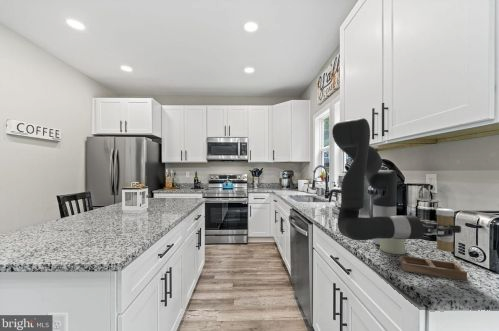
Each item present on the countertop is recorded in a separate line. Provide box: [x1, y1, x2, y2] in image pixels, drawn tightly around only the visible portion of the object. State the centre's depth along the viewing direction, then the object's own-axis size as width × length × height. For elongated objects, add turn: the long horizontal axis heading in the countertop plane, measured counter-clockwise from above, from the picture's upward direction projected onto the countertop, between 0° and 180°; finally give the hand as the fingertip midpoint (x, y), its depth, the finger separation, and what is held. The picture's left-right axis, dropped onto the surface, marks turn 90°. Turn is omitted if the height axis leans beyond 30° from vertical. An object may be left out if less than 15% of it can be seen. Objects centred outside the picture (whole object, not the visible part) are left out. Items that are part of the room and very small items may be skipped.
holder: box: [398, 254, 468, 281], centre depth 82 cm, size 8×16×2 cm, turn 66°
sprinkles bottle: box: [435, 207, 455, 253], centre depth 80 cm, size 5×5×14 cm
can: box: [379, 239, 406, 255], centre depth 102 cm, size 9×9×12 cm
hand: (453, 227), depth 80 cm, fingers closed on sprinkles bottle, 4 cm apart
